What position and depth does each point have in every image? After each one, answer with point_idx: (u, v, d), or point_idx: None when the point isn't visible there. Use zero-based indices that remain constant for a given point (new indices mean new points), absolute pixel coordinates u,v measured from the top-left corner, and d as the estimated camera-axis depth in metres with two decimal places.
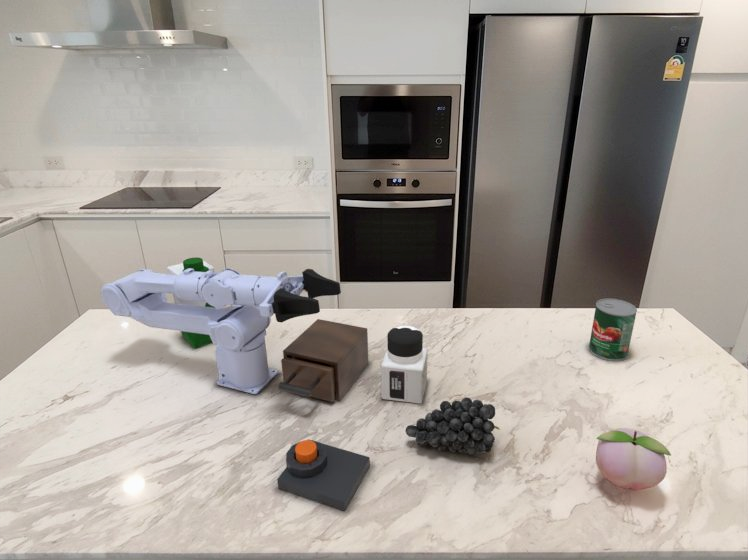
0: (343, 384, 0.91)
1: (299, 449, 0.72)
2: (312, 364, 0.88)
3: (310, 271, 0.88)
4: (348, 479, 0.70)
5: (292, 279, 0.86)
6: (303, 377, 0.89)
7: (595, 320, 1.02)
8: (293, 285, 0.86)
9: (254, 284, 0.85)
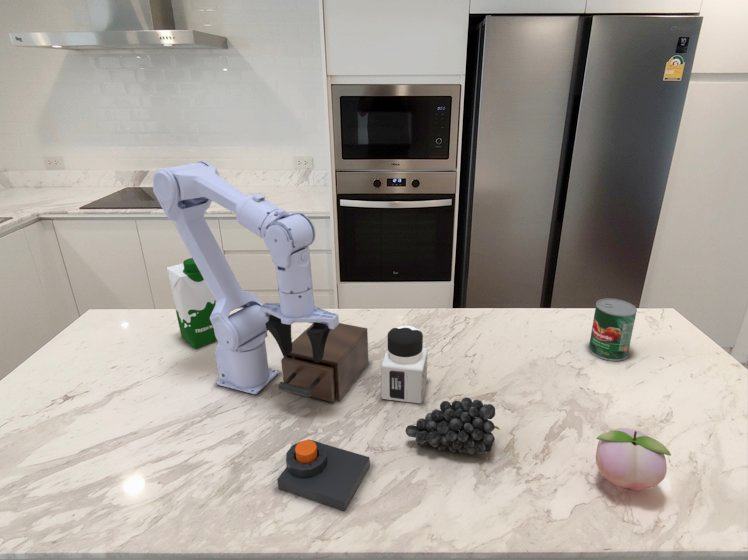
0: (343, 384, 0.91)
1: (299, 449, 0.72)
2: (312, 364, 0.88)
3: (314, 336, 0.79)
4: (348, 479, 0.70)
5: None
6: (303, 377, 0.89)
7: (595, 320, 1.02)
8: None
9: (279, 289, 0.79)
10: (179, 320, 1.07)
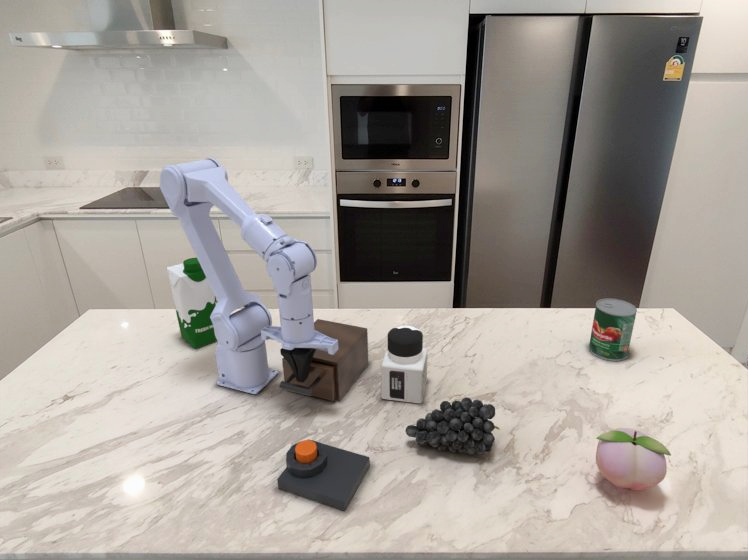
0: (343, 384, 0.91)
1: (299, 449, 0.72)
2: (313, 363, 0.88)
3: (299, 358, 0.82)
4: (348, 479, 0.70)
5: None
6: None
7: (595, 320, 1.02)
8: None
9: (280, 315, 0.81)
10: (179, 320, 1.07)
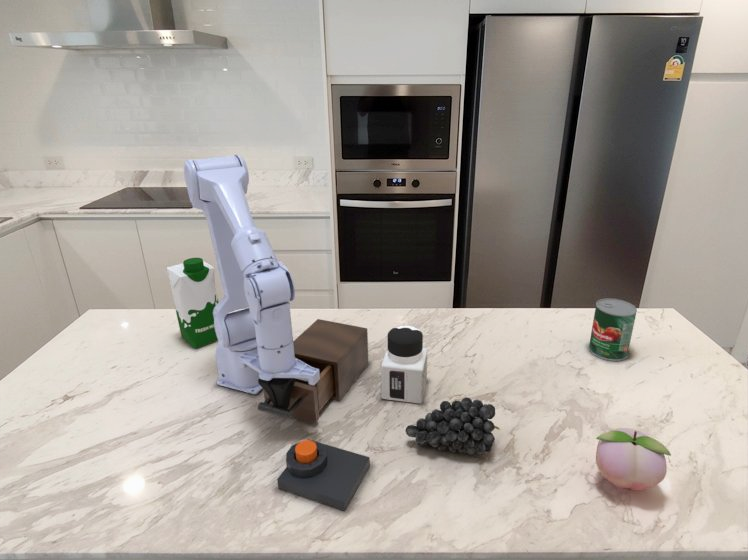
0: (343, 384, 0.91)
1: (299, 449, 0.72)
2: None
3: (278, 389, 0.77)
4: (348, 479, 0.70)
5: None
6: None
7: (595, 320, 1.02)
8: None
9: (257, 343, 0.76)
10: (179, 320, 1.07)
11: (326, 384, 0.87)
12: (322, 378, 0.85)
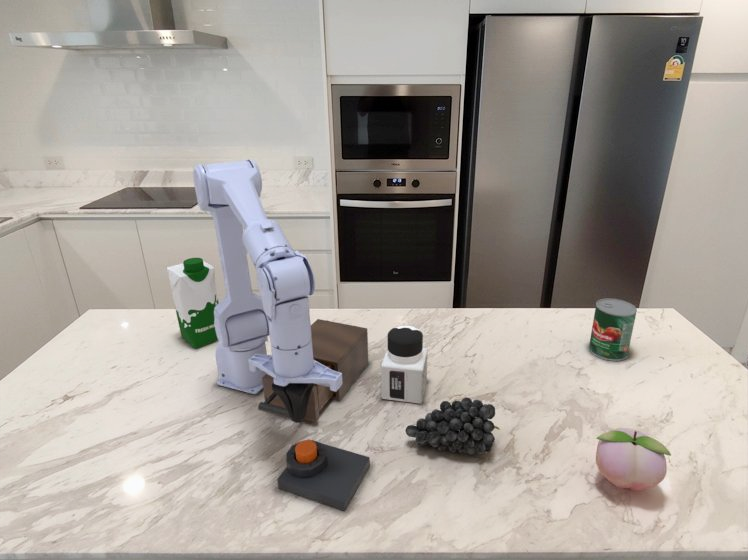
0: (343, 384, 0.91)
1: (299, 449, 0.72)
2: None
3: (295, 395, 0.68)
4: (348, 479, 0.70)
5: None
6: None
7: (595, 320, 1.02)
8: None
9: (271, 343, 0.66)
10: (179, 320, 1.07)
11: None
12: None
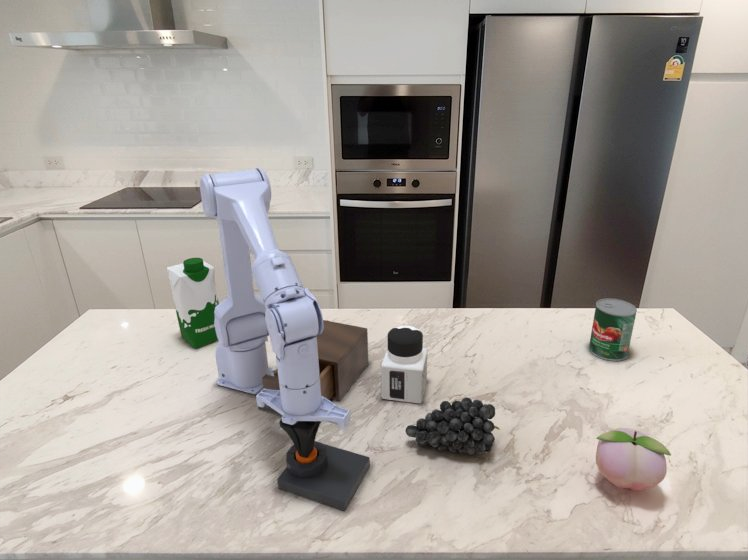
0: (343, 384, 0.91)
1: None
2: None
3: (303, 433, 0.68)
4: (348, 479, 0.70)
5: None
6: None
7: (595, 320, 1.02)
8: None
9: (279, 382, 0.66)
10: (179, 320, 1.07)
11: (326, 384, 0.87)
12: (322, 378, 0.85)
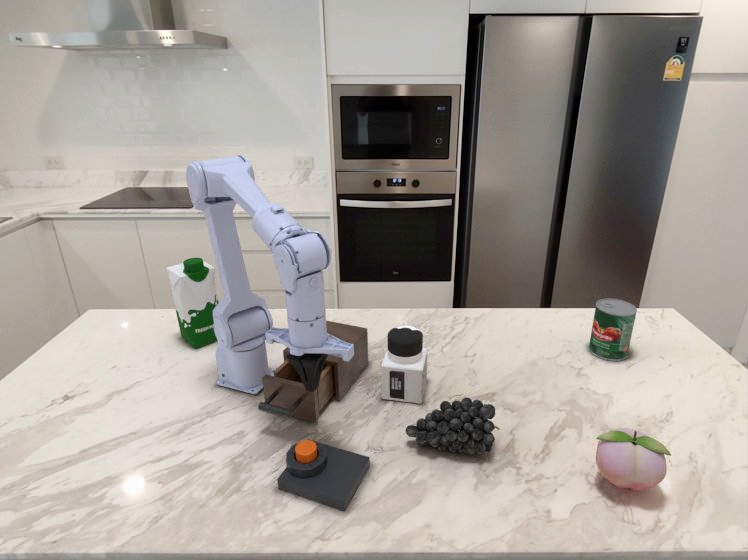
0: (343, 384, 0.91)
1: (299, 449, 0.72)
2: (294, 382, 0.83)
3: (309, 365, 0.72)
4: (348, 479, 0.70)
5: None
6: (285, 396, 0.84)
7: (595, 320, 1.02)
8: None
9: (288, 316, 0.71)
10: (179, 320, 1.07)
11: (326, 384, 0.87)
12: (322, 378, 0.85)
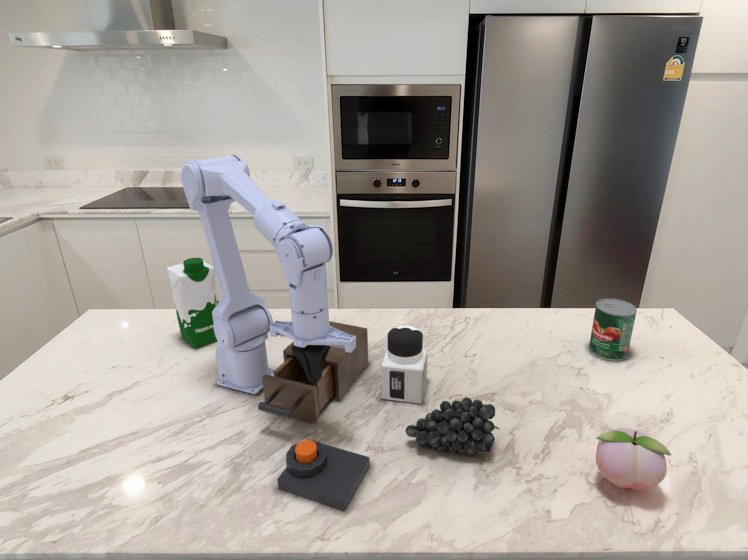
0: (343, 384, 0.91)
1: (299, 449, 0.72)
2: (294, 382, 0.83)
3: (313, 357, 0.74)
4: (348, 479, 0.70)
5: None
6: (285, 396, 0.84)
7: (595, 320, 1.02)
8: None
9: (291, 308, 0.73)
10: (179, 320, 1.07)
11: (326, 384, 0.87)
12: (322, 378, 0.85)
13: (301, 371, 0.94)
